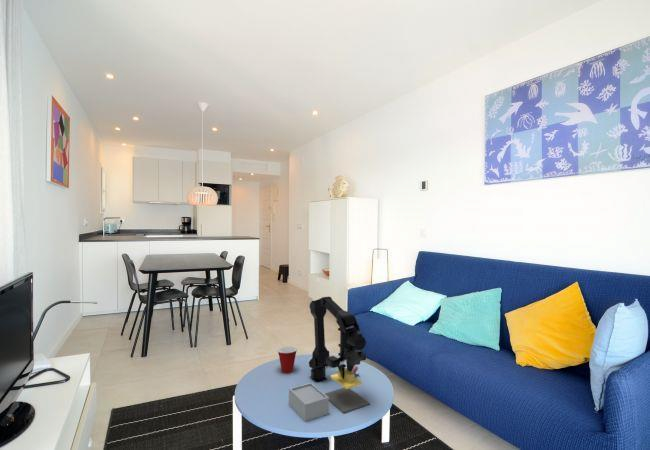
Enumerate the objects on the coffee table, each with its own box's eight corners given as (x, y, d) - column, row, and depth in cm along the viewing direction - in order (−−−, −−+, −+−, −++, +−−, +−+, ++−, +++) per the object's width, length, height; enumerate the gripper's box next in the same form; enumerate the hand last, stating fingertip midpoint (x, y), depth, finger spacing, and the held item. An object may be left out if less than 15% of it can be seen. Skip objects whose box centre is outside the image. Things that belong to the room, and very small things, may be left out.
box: (310, 397, 152) (311, 382, 152) (328, 413, 139) (328, 397, 139) (288, 404, 146) (289, 388, 146) (305, 421, 133) (305, 404, 133)
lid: (345, 373, 158) (345, 363, 158) (362, 384, 147) (362, 374, 147) (330, 377, 153) (330, 367, 153) (346, 389, 143) (346, 378, 143)
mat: (347, 388, 161) (347, 386, 161) (370, 404, 147) (370, 403, 147) (322, 395, 154) (322, 394, 154) (343, 413, 139) (343, 412, 139)
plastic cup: (292, 365, 186) (292, 343, 186) (300, 372, 177) (301, 350, 177) (273, 369, 181) (273, 346, 181) (281, 377, 172) (281, 353, 172)
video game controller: (347, 384, 168) (352, 373, 167) (339, 378, 171) (345, 367, 169) (355, 376, 177) (361, 366, 175) (348, 371, 179) (354, 360, 177)
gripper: (339, 352, 138) (338, 390, 138) (374, 344, 148) (373, 380, 148) (325, 344, 148) (324, 379, 148) (358, 337, 158) (358, 370, 158)
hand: (345, 377), depth 150 cm, fingers closed on lid, 3 cm apart
